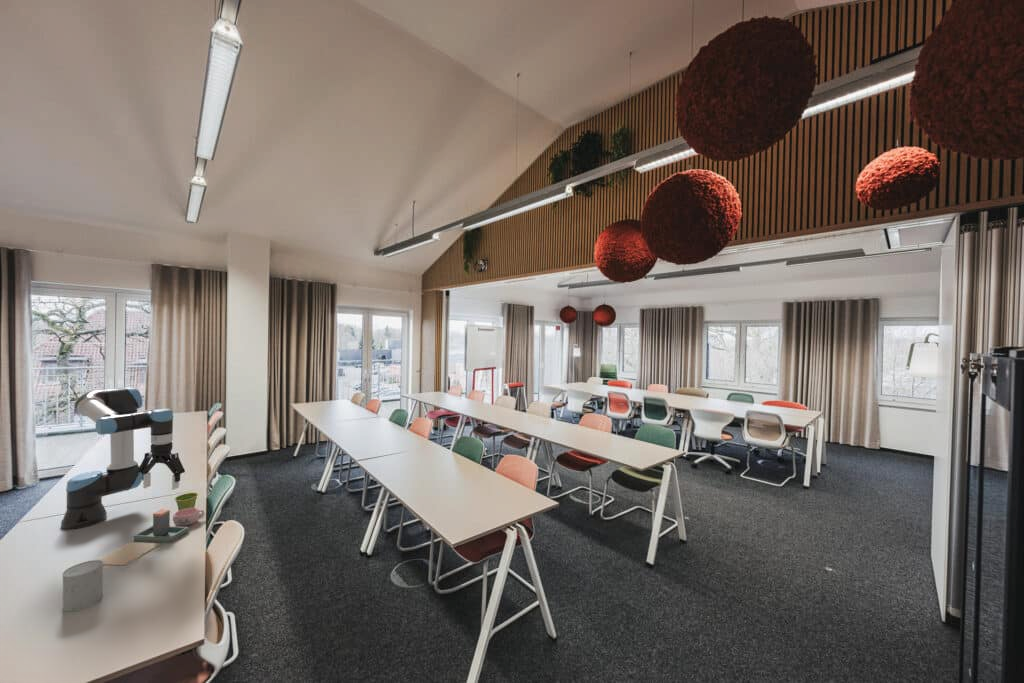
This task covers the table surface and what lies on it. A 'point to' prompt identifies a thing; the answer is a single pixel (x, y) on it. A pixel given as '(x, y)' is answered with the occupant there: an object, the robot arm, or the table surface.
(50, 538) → the table surface
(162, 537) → the tray
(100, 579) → the grey stone cylinder
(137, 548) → the tan board
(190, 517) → the mug
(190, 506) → the plant pot
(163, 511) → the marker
